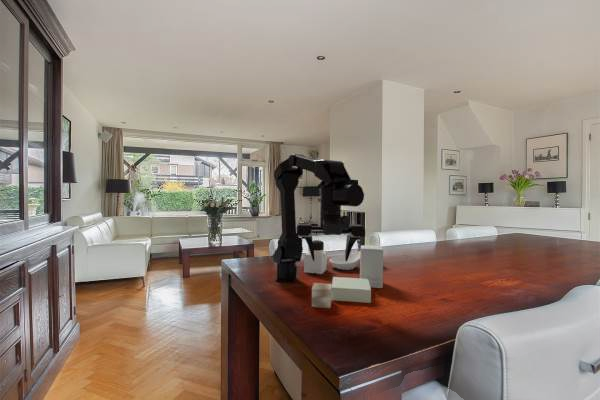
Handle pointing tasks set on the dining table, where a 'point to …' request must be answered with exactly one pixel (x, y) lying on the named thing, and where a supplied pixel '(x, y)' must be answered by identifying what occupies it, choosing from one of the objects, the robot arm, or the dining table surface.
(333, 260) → the spoon rest
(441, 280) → the dining table surface
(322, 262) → the medicine bottle
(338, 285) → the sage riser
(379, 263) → the supplement box
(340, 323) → the dining table surface
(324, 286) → the cream block
